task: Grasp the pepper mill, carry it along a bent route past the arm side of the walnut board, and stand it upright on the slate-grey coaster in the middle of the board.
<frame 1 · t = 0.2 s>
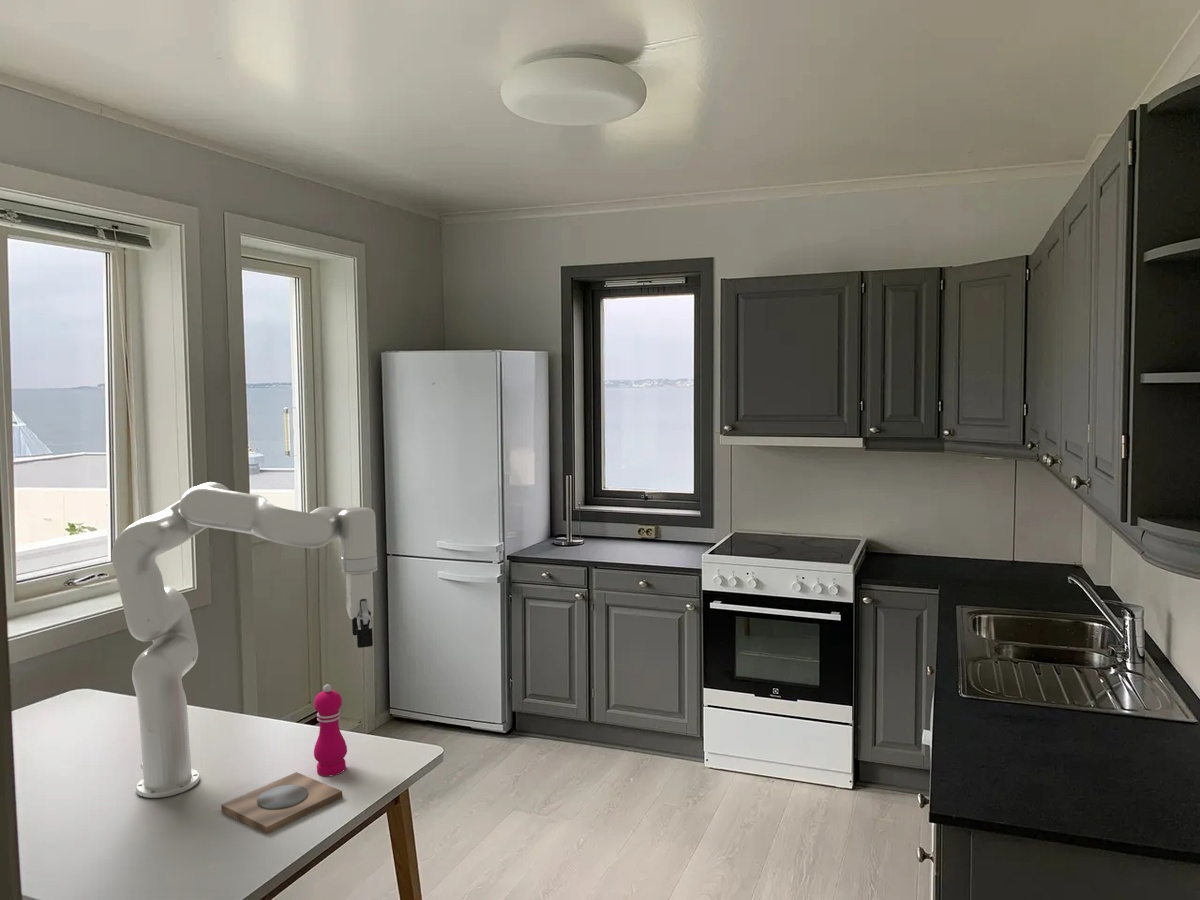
hand: (362, 640, 199), 31 cm above the table, tool pointing down, fingers open, 9 cm apart
pepper mill: (331, 771, 204), on the table
walnut board: (282, 804, 188), on the table
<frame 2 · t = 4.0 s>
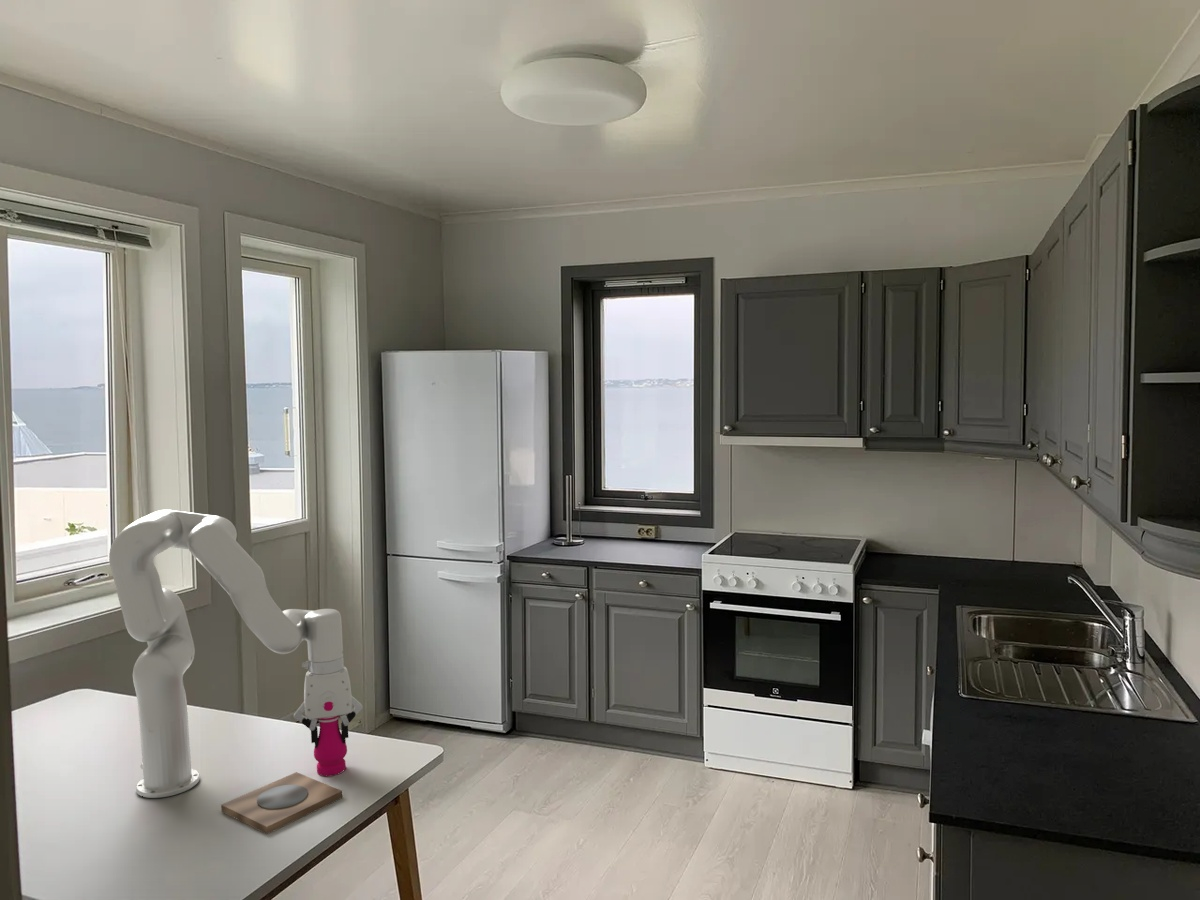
hand: (330, 742, 203), 7 cm above the table, tool pointing down, fingers closed on pepper mill, 5 cm apart
pepper mill: (331, 771, 204), on the table, touching gripper
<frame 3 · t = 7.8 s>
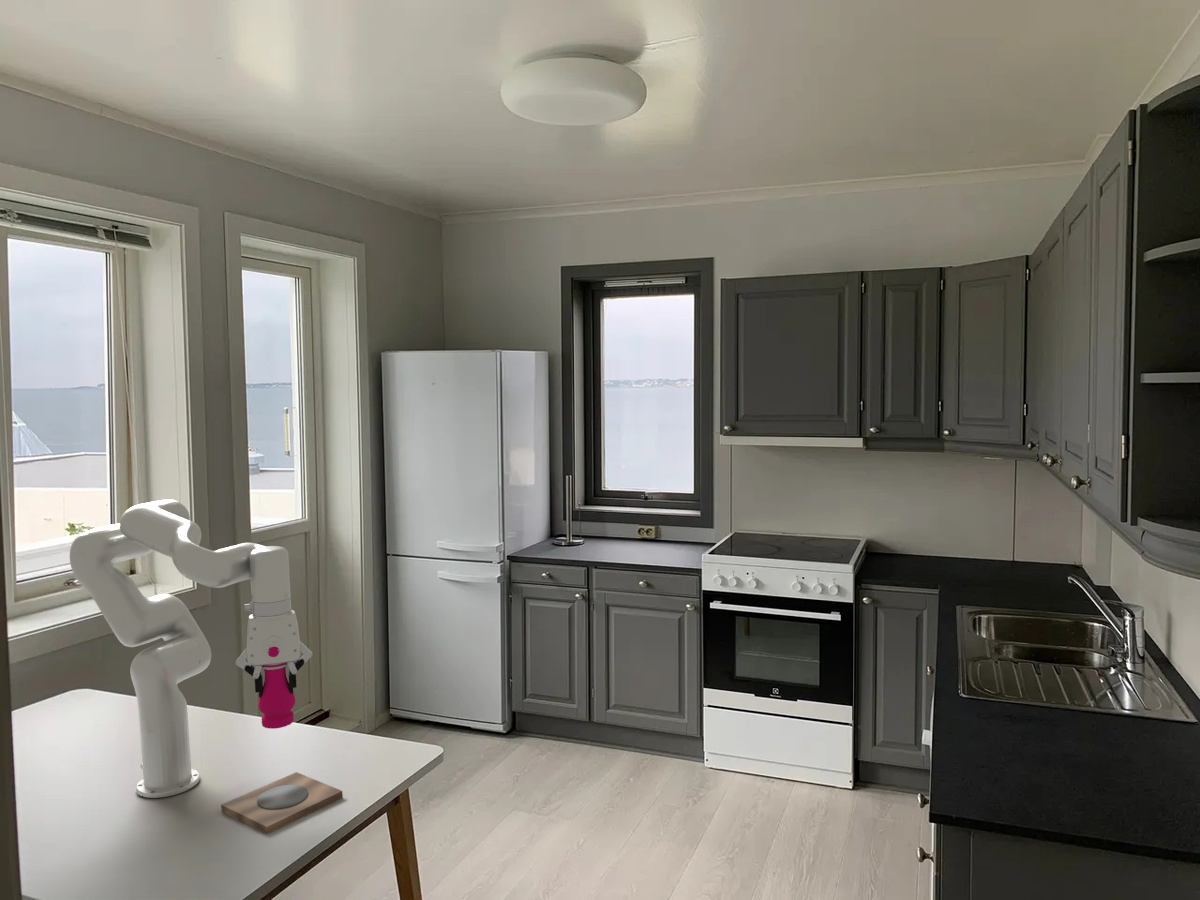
hand: (276, 692, 186), 24 cm above the table, tool pointing down, fingers closed on pepper mill, 5 cm apart
pepper mill: (278, 723, 187), point 17 cm above the table, touching gripper
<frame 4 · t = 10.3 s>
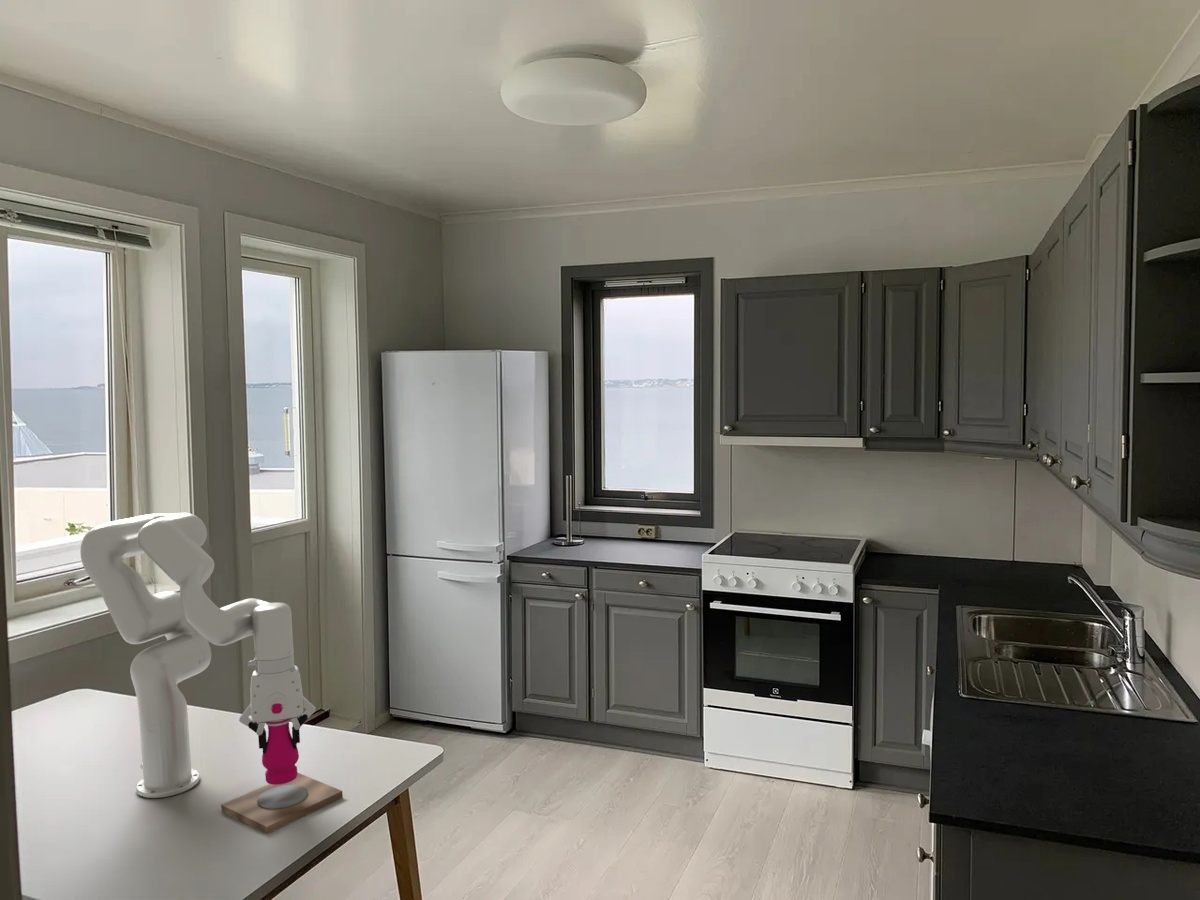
hand: (279, 747, 187), 12 cm above the table, tool pointing down, fingers closed on pepper mill, 5 cm apart
pepper mill: (281, 779, 188), point 6 cm above the table, touching gripper
when the fingers open (9 cm above the table, at t = 12.0 s): pepper mill stays where it is, resting on walnut board.
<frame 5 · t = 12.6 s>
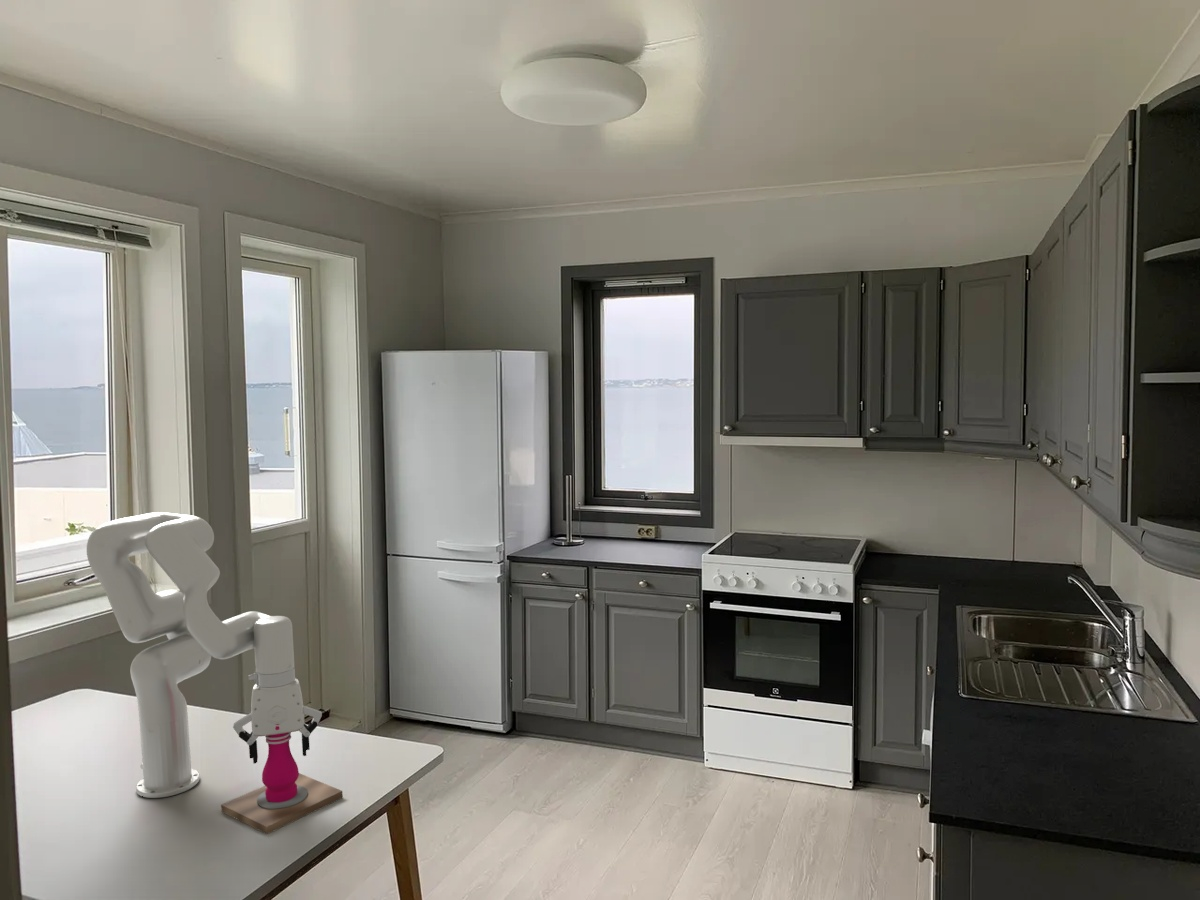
hand: (280, 757, 187), 10 cm above the table, tool pointing down, fingers open, 9 cm apart
pepper mill: (281, 796, 188), point 2 cm above the table, touching walnut board
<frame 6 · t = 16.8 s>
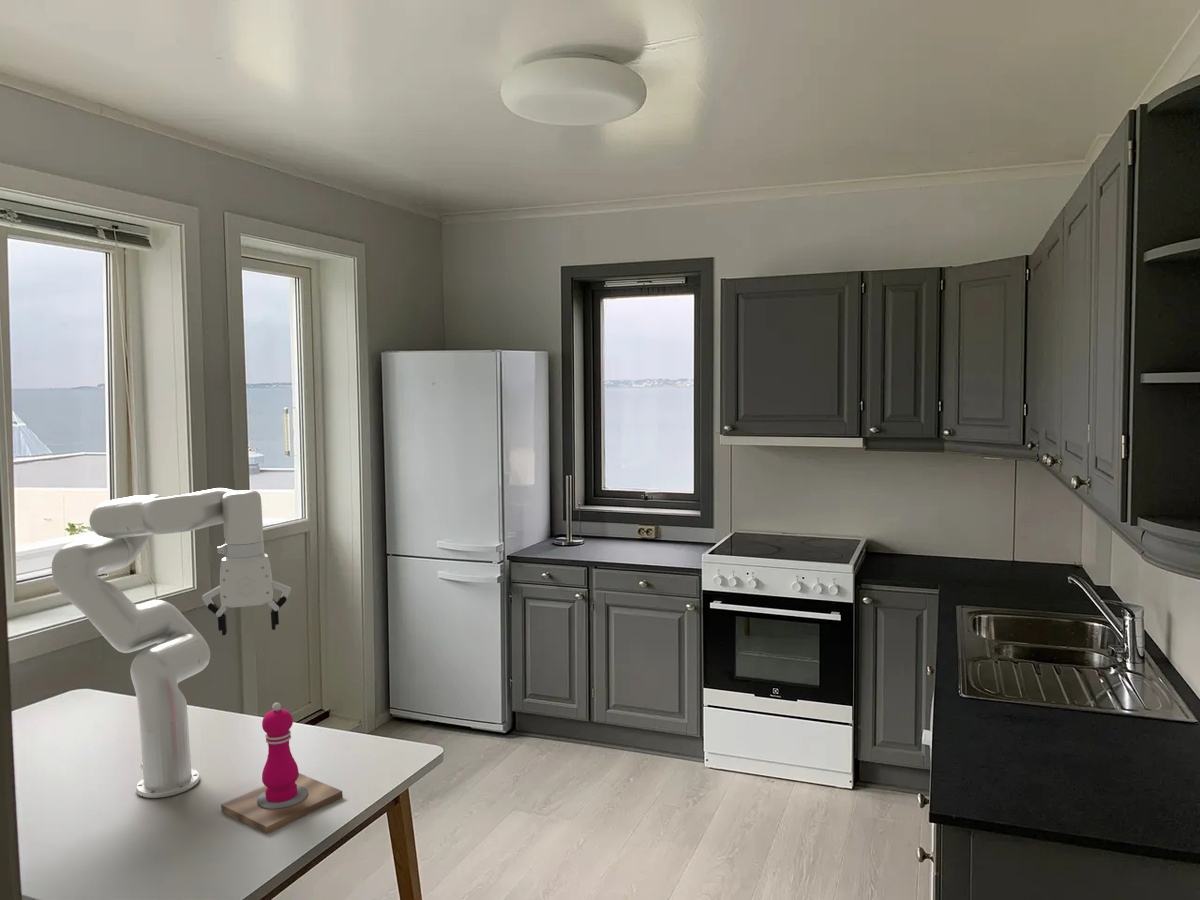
hand: (249, 630, 188), 36 cm above the table, tool pointing down, fingers open, 9 cm apart
nothing on the table moved.
at the end: pepper mill inside the target area on the walnut board (0.2 cm from its centre), point 1.7 cm above the walnut board's base; pepper mill tilted 0°; the gripper is holding nothing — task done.
